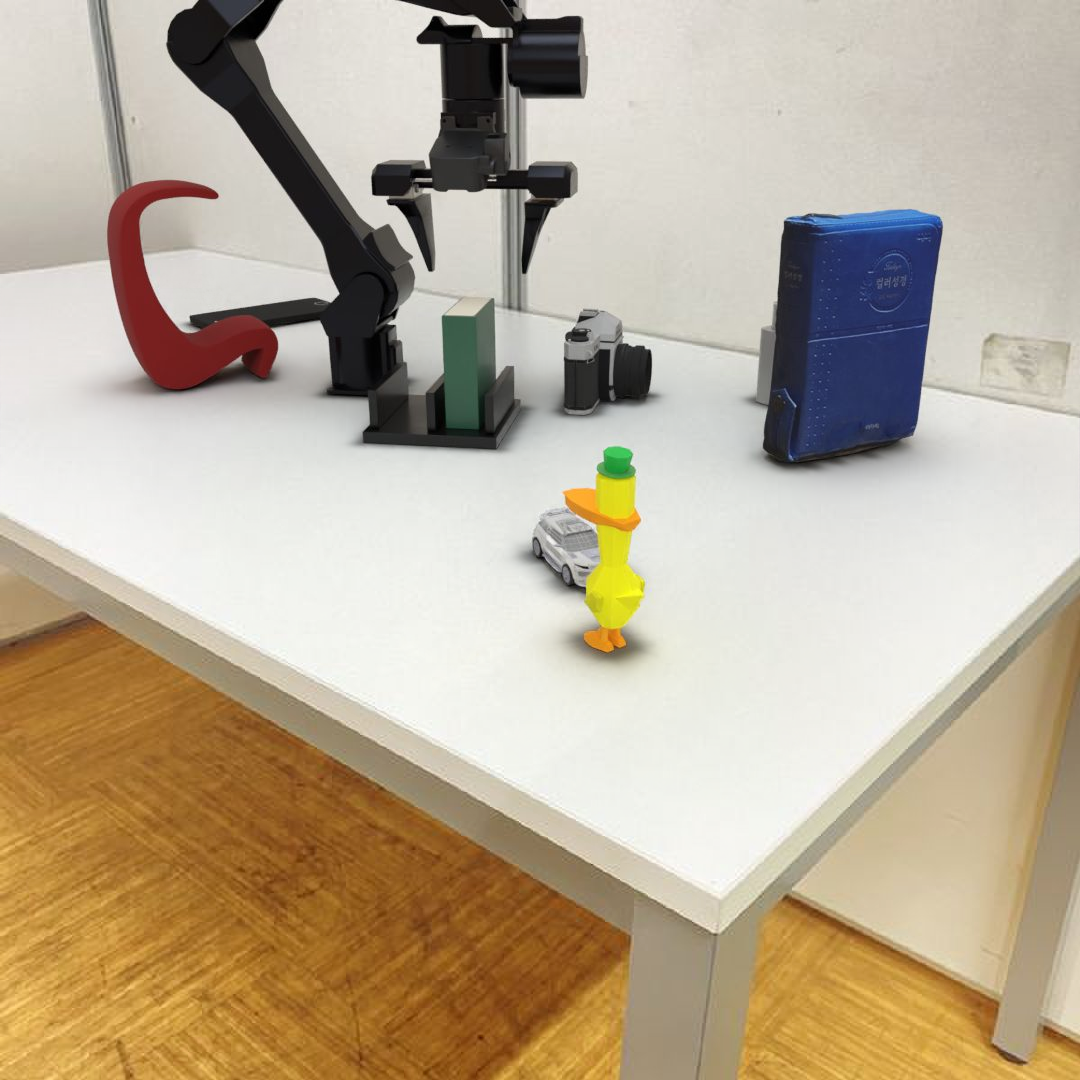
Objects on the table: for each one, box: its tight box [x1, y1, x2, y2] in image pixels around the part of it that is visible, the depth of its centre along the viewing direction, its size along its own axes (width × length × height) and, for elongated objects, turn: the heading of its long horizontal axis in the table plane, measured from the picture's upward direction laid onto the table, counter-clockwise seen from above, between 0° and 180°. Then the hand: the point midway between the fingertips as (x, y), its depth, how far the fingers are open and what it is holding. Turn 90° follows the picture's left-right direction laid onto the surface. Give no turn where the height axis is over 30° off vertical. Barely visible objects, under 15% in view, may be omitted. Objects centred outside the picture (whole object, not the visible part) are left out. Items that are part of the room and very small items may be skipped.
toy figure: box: [561, 445, 646, 653], centre depth 64 cm, size 7×4×12 cm, turn 38°
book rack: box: [362, 361, 522, 450], centre depth 103 cm, size 12×12×4 cm
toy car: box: [531, 506, 600, 588], centre depth 75 cm, size 4×8×3 cm, turn 24°
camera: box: [563, 308, 653, 416], centre depth 110 cm, size 13×8×9 cm, turn 169°
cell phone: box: [189, 297, 332, 329], centre depth 145 cm, size 9×18×1 cm, turn 129°
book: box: [762, 208, 944, 463], centre depth 93 cm, size 14×5×20 cm, turn 117°
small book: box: [441, 296, 497, 430], centre depth 101 cm, size 3×8×10 cm, turn 171°
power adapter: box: [755, 300, 777, 406], centre depth 109 cm, size 3×5×12 cm, turn 128°
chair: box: [106, 179, 279, 390], centre depth 115 cm, size 15×7×20 cm, turn 118°
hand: (477, 272), depth 109 cm, fingers open, 9 cm apart
